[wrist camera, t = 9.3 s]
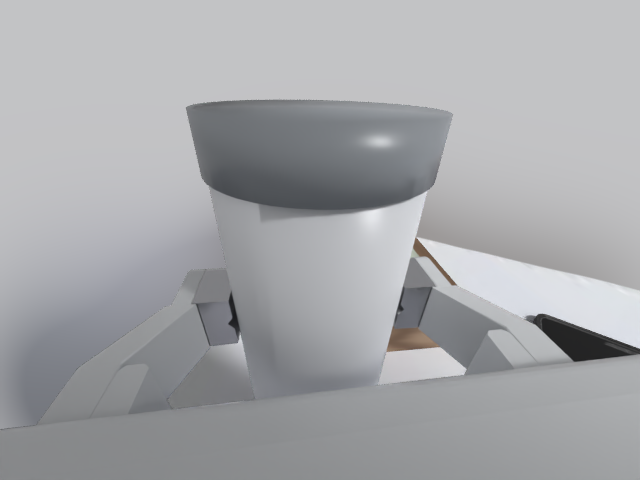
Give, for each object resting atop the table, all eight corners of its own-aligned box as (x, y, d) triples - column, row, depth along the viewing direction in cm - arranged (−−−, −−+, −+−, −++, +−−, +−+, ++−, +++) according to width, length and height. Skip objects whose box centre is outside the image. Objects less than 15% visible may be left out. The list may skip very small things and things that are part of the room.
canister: (355, 345, 14) (392, 101, 8) (388, 462, 10) (528, 124, 4) (261, 354, 14) (219, 98, 7) (250, 484, 9) (123, 121, 3)
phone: (828, 492, 16) (540, 363, 23) (810, 497, 17) (533, 370, 24) (749, 388, 22) (536, 309, 29) (737, 395, 22) (531, 316, 29)
